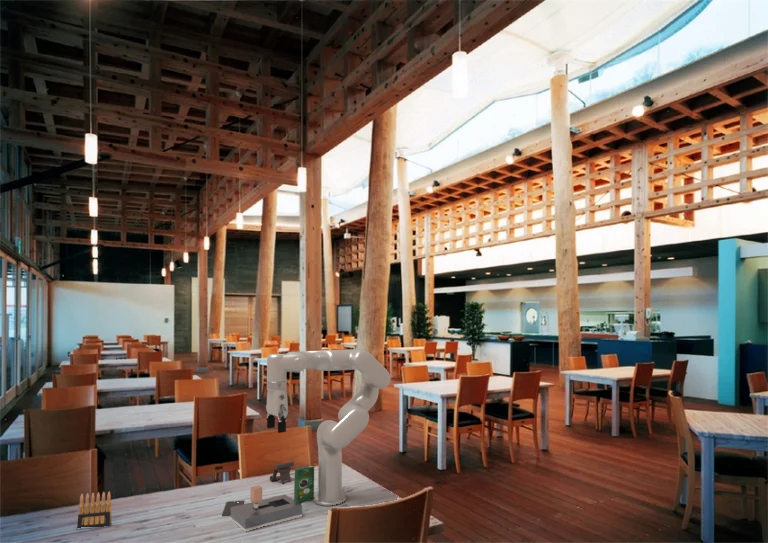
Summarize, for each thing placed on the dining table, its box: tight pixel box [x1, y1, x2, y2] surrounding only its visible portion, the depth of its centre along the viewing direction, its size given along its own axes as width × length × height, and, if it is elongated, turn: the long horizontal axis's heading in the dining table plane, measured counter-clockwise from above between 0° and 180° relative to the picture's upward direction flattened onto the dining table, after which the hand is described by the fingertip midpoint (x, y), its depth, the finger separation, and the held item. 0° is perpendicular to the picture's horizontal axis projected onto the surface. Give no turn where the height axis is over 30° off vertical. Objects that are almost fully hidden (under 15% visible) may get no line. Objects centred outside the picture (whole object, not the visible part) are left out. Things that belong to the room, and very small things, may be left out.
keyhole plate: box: [230, 494, 303, 533], centre depth 192 cm, size 22×14×4 cm, turn 127°
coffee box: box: [293, 465, 315, 503], centre depth 210 cm, size 8×3×13 cm, turn 129°
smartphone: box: [221, 500, 246, 517], centre depth 202 cm, size 7×1×15 cm
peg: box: [249, 485, 263, 510], centre depth 190 cm, size 4×4×11 cm
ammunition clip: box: [76, 491, 112, 529], centre depth 185 cm, size 11×2×12 cm, turn 105°
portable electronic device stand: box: [269, 460, 295, 485], centre depth 235 cm, size 9×8×8 cm
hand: (276, 430), depth 202 cm, fingers open, 9 cm apart
